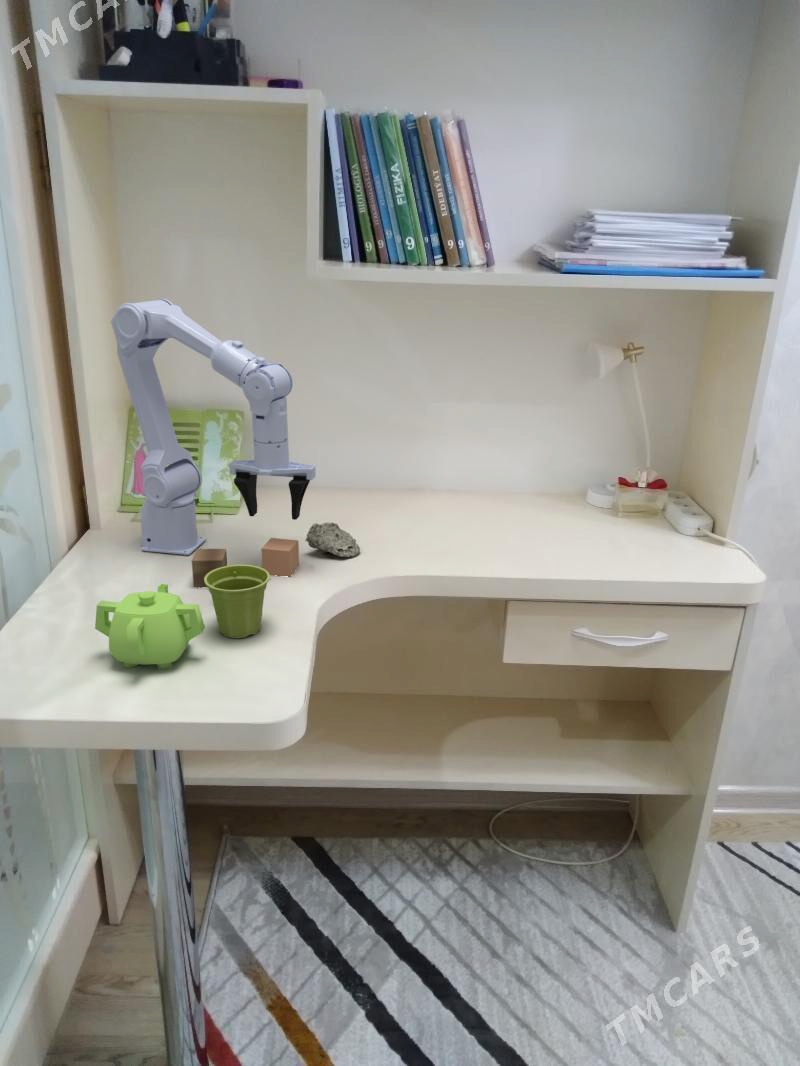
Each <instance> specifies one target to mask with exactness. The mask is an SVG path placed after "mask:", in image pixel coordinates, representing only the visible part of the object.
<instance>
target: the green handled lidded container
mask: <svg viewBox="0 0 800 1066" xmlns="http://www.w3.org/2000/svg"><path fill="white" fill-rule="evenodd" d="M157 587H158V588H157V590H156V591H151V590H146V591H140V592H132V593H128V594H126V595H125V597H123V599H122V600H121V601H120V602H119V601H109V600H100V601H99V603H97V604H96V611H95V626H94V630H97V631H98V632H100V633H101V634H102V635H105V636H106V637H108V650H109V652H110V654H111V656H112V657H113V658H114V659H115V660H116V661H118V662H121V663H123V664H122V665H123V668H125V669H133V668H136V667H138V665H157V668H158V669H159V670H168V669H170V668H171V667H173V664H172V663H173V662H176V661H178V660H179V658H180V657H181V656H182V654H183V653H184V652H185V650H186V648H187V646H188V643H189V642H190V641H191V640H192V639H194V638H196V637H197V636H199V635H201V634H202V633H203V632H204V630H205V628H206V627H205V622H204V619H203V616H202V612H201V608H200V606H199V604H196V603H195V604H193V603H191V604H190V603H189V604H188V603H187V604H185V603H184V602H183V600H182V599H181V597H180V595H178V594H176V593H175V594H174V593H171V592H169V584H168V583H160V584H159V585H158V586H157ZM110 613H112V614H113V615H112V618H111V620H110Z"/></svg>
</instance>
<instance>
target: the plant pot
mask: <svg viewBox="0 0 800 1066" xmlns="http://www.w3.org/2000/svg"><path fill="white" fill-rule="evenodd" d="M229 565H230V566H229ZM229 565H227V566H224V567H220V568H217V569H215V570H212V571H211V572H209V573H208V574H207V575H206V576H205V578H204V582H205V584H206V586H207V587H208V588H207V589H208V592H209V594H210V595H211V599H212V604H213V607H214V612H215V617H216V621H217V626H218V630H219V632H220V633H222V634H223V636H224V637H227V638H231V639H244V638H247V637H248V636H250V635H256V634H257V633H258V631H261V627H262V626H261V625H262V620H263V619H262V617H263V608H264V599H265V598H264V597H265V591H266V589H267V586H268V585H267V584H268V582H269V581H270V580H271V579H270V577H271V576H270V575H269V572H267V571H266V570H265V569H263V568H262V566H261V567H260V566H256V565H250V564H229Z"/></svg>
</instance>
